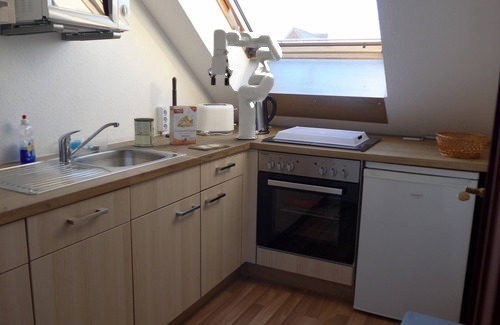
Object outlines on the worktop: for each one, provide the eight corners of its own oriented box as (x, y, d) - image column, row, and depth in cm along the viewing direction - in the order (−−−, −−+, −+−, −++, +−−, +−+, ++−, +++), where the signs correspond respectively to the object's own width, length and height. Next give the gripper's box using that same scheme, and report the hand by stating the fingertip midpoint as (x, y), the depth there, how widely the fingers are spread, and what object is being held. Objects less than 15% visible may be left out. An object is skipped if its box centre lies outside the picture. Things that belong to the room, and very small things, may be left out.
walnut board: (212, 144, 247) (212, 143, 247) (229, 147, 240) (229, 145, 239) (187, 148, 232) (188, 146, 232) (205, 150, 225) (205, 149, 224)
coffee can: (133, 144, 242) (132, 117, 239) (152, 143, 246) (152, 117, 243) (136, 146, 233) (135, 119, 230) (156, 146, 237) (155, 119, 234)
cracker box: (173, 145, 241) (173, 106, 237) (169, 144, 246) (168, 105, 242) (196, 143, 249) (197, 106, 245) (191, 142, 254) (191, 105, 250)
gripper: (237, 53, 240) (236, 85, 243) (213, 54, 250) (212, 85, 253) (228, 52, 234) (227, 85, 237) (203, 53, 245) (203, 85, 248)
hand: (220, 85), depth 245 cm, fingers open, 9 cm apart
